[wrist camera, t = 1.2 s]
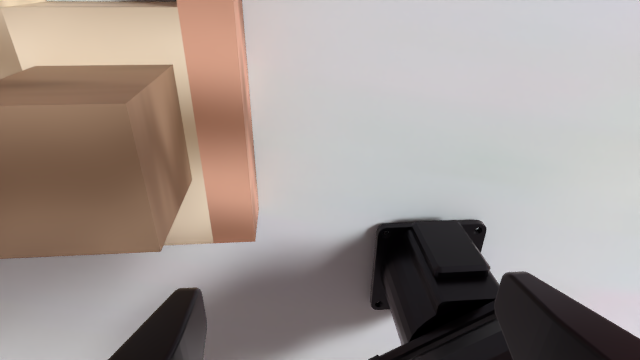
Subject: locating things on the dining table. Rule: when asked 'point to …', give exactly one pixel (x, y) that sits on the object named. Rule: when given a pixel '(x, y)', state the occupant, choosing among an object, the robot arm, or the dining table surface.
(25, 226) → the walnut cube
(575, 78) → the dining table surface
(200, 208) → the board
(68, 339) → the dining table surface
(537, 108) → the dining table surface
